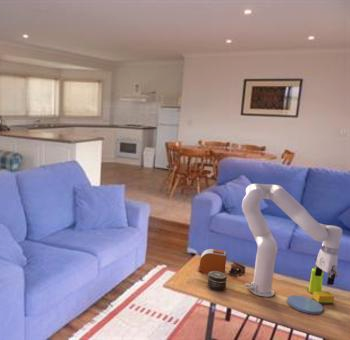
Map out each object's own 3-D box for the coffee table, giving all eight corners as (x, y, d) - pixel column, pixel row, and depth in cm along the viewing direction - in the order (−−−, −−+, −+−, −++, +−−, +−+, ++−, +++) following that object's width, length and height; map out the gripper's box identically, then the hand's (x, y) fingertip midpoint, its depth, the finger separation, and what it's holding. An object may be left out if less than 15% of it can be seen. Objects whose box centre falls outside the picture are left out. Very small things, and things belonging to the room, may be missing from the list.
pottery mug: (224, 272, 229) (229, 260, 230) (236, 278, 230) (241, 266, 232) (235, 276, 217) (240, 263, 218) (248, 282, 219) (253, 269, 220)
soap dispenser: (324, 295, 204) (329, 261, 200) (310, 294, 205) (315, 260, 201) (320, 290, 209) (325, 257, 206) (307, 289, 211) (311, 255, 207)
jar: (208, 281, 215) (209, 269, 213) (226, 285, 211) (228, 273, 209) (205, 288, 206) (207, 276, 205) (224, 293, 202) (226, 280, 200)
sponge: (318, 304, 194) (319, 296, 194) (312, 299, 199) (313, 291, 198) (333, 304, 195) (334, 296, 194) (326, 299, 200) (327, 291, 199)
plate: (298, 313, 184) (298, 311, 184) (281, 297, 200) (281, 295, 200) (329, 314, 185) (330, 311, 185) (310, 297, 201) (310, 295, 201)
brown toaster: (224, 270, 231) (226, 249, 228) (224, 276, 223) (226, 254, 220) (200, 266, 236) (202, 245, 233) (198, 271, 228) (200, 250, 226)
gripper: (312, 242, 200) (307, 272, 203) (334, 255, 183) (327, 287, 186) (325, 243, 201) (320, 272, 204) (348, 256, 184) (342, 288, 187)
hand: (323, 280), depth 195 cm, fingers open, 9 cm apart
